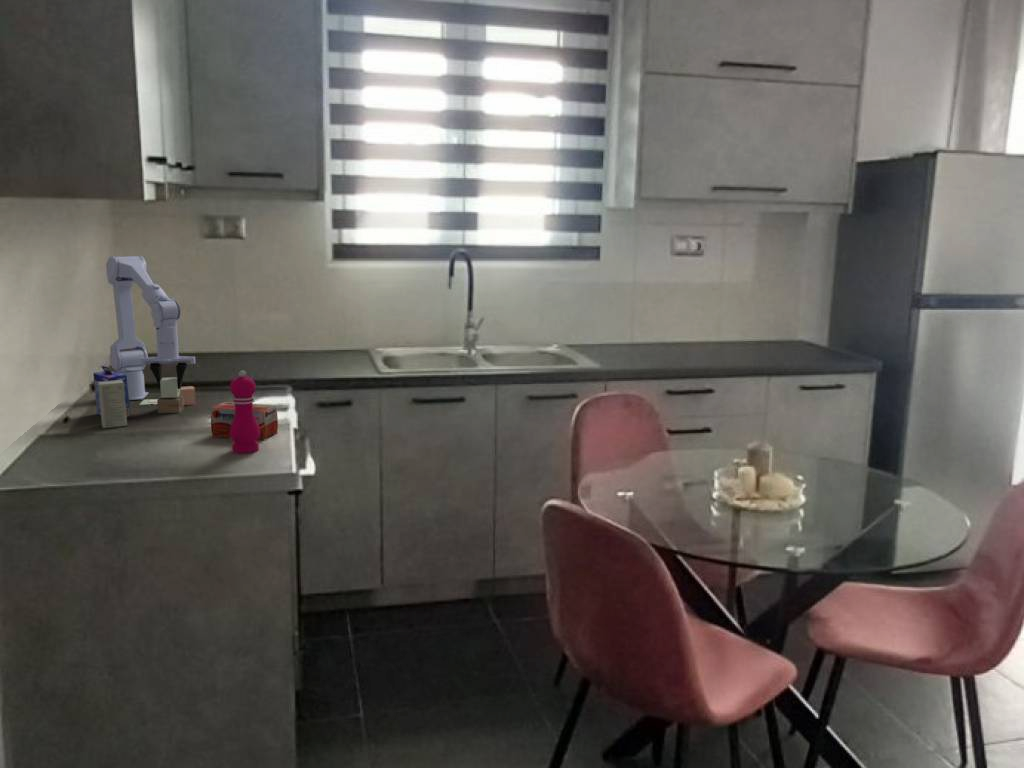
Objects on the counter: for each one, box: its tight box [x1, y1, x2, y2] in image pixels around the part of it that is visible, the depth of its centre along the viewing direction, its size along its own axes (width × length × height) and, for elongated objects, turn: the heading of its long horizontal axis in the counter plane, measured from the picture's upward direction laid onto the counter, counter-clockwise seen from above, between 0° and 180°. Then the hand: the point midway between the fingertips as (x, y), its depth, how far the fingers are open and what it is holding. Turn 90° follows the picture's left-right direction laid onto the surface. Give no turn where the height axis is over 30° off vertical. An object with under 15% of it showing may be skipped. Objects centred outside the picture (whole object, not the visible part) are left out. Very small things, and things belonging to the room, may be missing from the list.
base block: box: [157, 396, 185, 414], centre depth 254 cm, size 6×6×4 cm
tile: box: [139, 398, 159, 406], centre depth 264 cm, size 7×7×1 cm
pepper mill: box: [229, 369, 260, 454], centre depth 212 cm, size 7×7×20 cm
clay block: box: [179, 385, 197, 406], centre depth 263 cm, size 4×4×5 cm
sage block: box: [160, 377, 180, 398], centre depth 253 cm, size 4×4×5 cm
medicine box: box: [210, 401, 279, 441], centre depth 227 cm, size 15×8×8 cm, turn 81°
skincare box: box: [98, 380, 128, 429], centre depth 234 cm, size 6×4×12 cm
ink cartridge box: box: [92, 365, 131, 418], centre depth 246 cm, size 10×6×14 cm, turn 51°
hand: (170, 388), depth 253 cm, fingers closed on sage block, 4 cm apart
